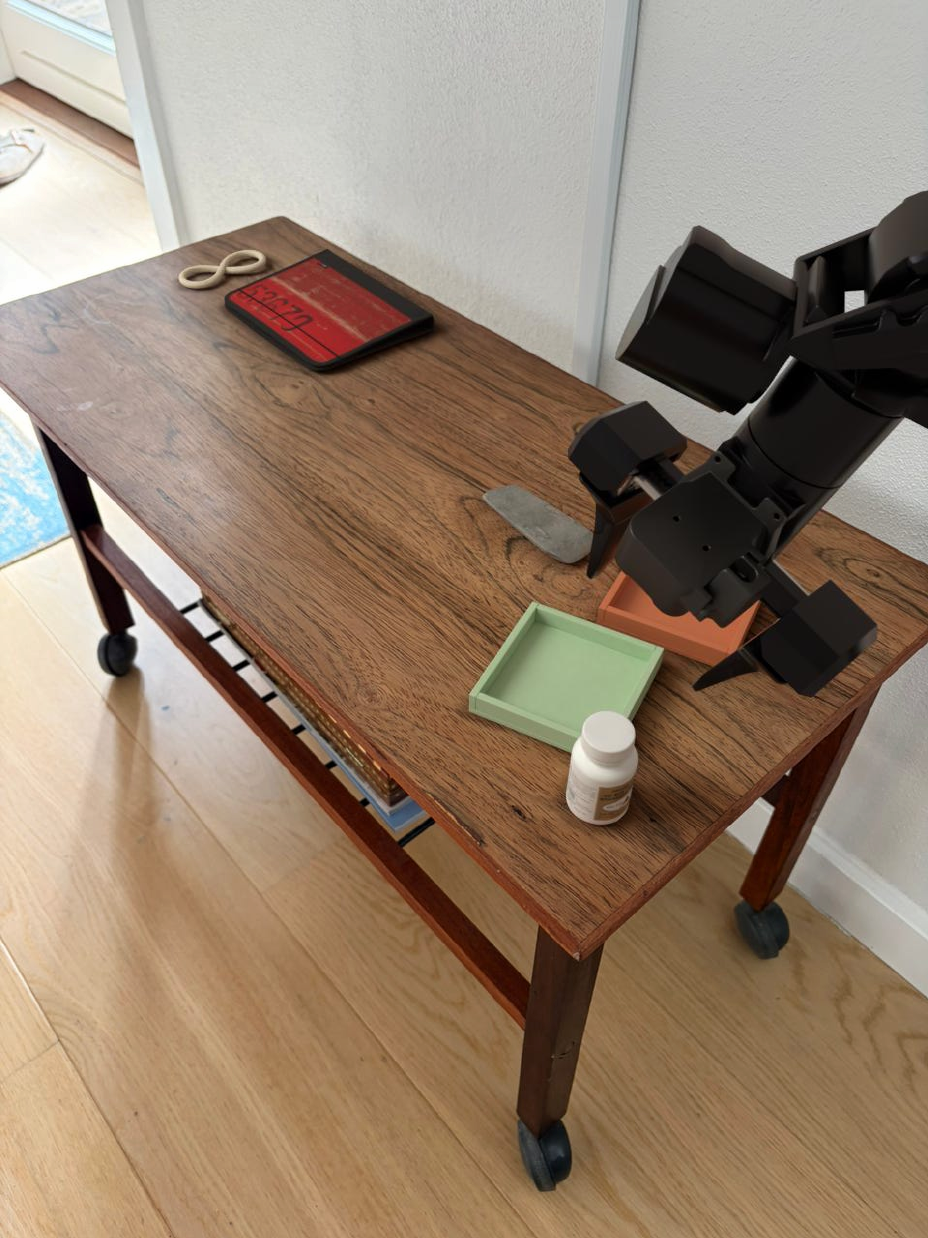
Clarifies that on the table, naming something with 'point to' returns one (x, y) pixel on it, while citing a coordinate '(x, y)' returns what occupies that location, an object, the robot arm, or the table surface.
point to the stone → (541, 523)
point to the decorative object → (222, 269)
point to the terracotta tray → (670, 624)
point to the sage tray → (563, 676)
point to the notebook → (327, 312)
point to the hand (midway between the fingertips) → (643, 630)
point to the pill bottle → (602, 769)
